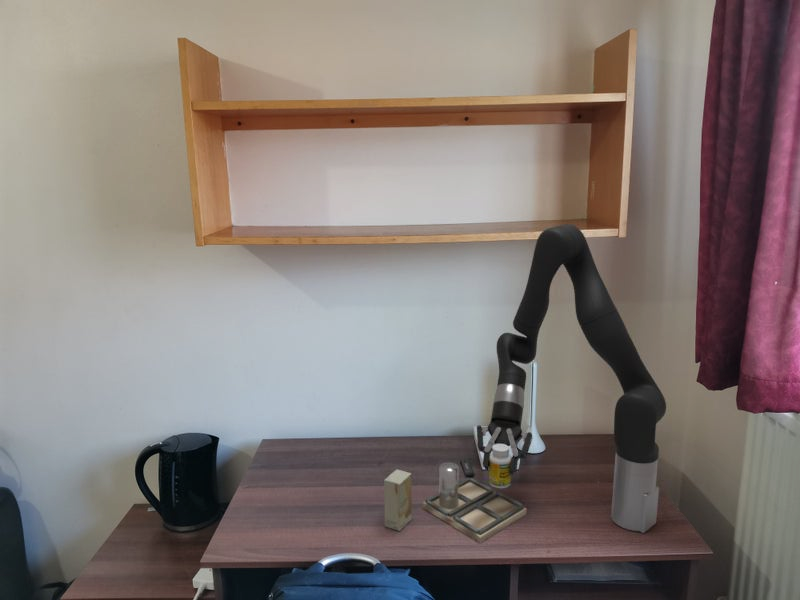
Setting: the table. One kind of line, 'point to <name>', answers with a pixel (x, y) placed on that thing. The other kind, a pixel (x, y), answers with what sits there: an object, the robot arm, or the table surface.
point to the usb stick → (467, 467)
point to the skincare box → (398, 499)
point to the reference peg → (449, 485)
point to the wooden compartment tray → (478, 510)
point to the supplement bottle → (500, 466)
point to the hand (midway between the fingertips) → (499, 471)
